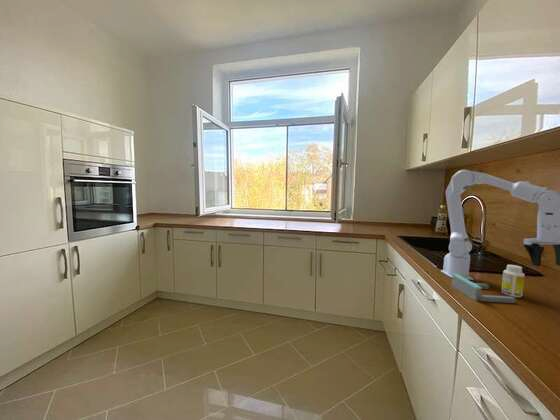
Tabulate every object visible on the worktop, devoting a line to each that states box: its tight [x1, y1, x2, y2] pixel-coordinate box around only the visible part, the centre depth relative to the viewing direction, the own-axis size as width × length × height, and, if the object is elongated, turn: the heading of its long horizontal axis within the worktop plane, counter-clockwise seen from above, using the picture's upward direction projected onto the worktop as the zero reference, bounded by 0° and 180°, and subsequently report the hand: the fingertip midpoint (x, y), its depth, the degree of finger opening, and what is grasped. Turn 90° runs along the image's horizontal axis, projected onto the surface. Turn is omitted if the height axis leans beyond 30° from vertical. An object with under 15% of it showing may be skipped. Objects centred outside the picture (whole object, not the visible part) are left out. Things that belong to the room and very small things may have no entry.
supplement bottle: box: [500, 264, 525, 298], centre depth 89 cm, size 6×6×10 cm
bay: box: [451, 274, 516, 304], centre depth 89 cm, size 13×12×5 cm
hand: (548, 265), depth 87 cm, fingers open, 7 cm apart
